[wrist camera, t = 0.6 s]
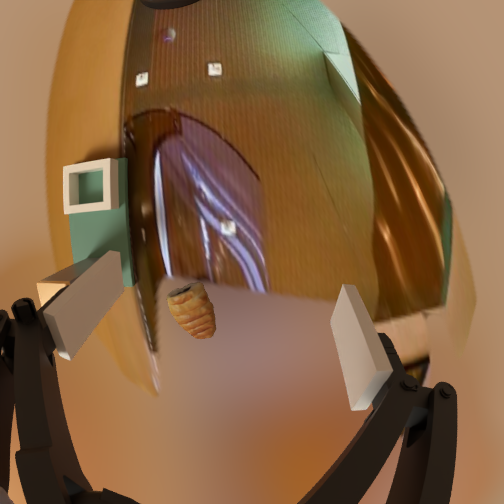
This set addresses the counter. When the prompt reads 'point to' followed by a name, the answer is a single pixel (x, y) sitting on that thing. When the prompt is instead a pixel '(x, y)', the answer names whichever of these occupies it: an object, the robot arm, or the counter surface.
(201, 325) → the pastry
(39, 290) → the plug
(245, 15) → the counter surface
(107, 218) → the board
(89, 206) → the header
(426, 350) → the counter surface
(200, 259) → the counter surface
